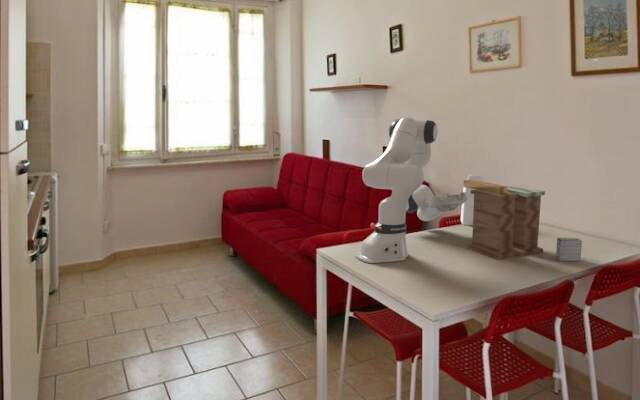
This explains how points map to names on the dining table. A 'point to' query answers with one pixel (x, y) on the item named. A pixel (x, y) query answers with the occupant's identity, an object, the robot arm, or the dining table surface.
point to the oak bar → (485, 186)
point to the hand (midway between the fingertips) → (456, 194)
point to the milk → (469, 202)
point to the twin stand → (506, 222)
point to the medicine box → (568, 249)
